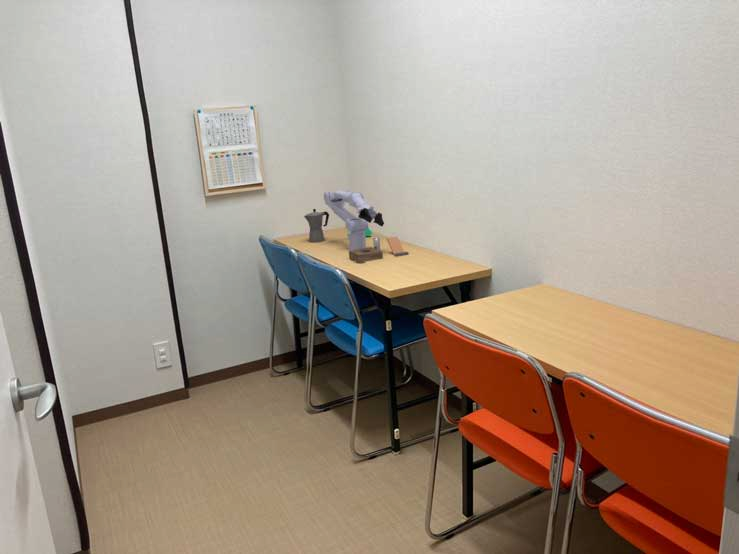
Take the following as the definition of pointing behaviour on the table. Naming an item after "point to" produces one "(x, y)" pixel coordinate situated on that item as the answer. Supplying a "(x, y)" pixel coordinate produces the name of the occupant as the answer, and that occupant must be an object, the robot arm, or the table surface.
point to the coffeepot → (316, 225)
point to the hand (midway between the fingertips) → (376, 222)
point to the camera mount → (366, 233)
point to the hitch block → (365, 254)
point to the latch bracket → (401, 254)
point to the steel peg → (376, 243)
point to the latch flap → (395, 245)
